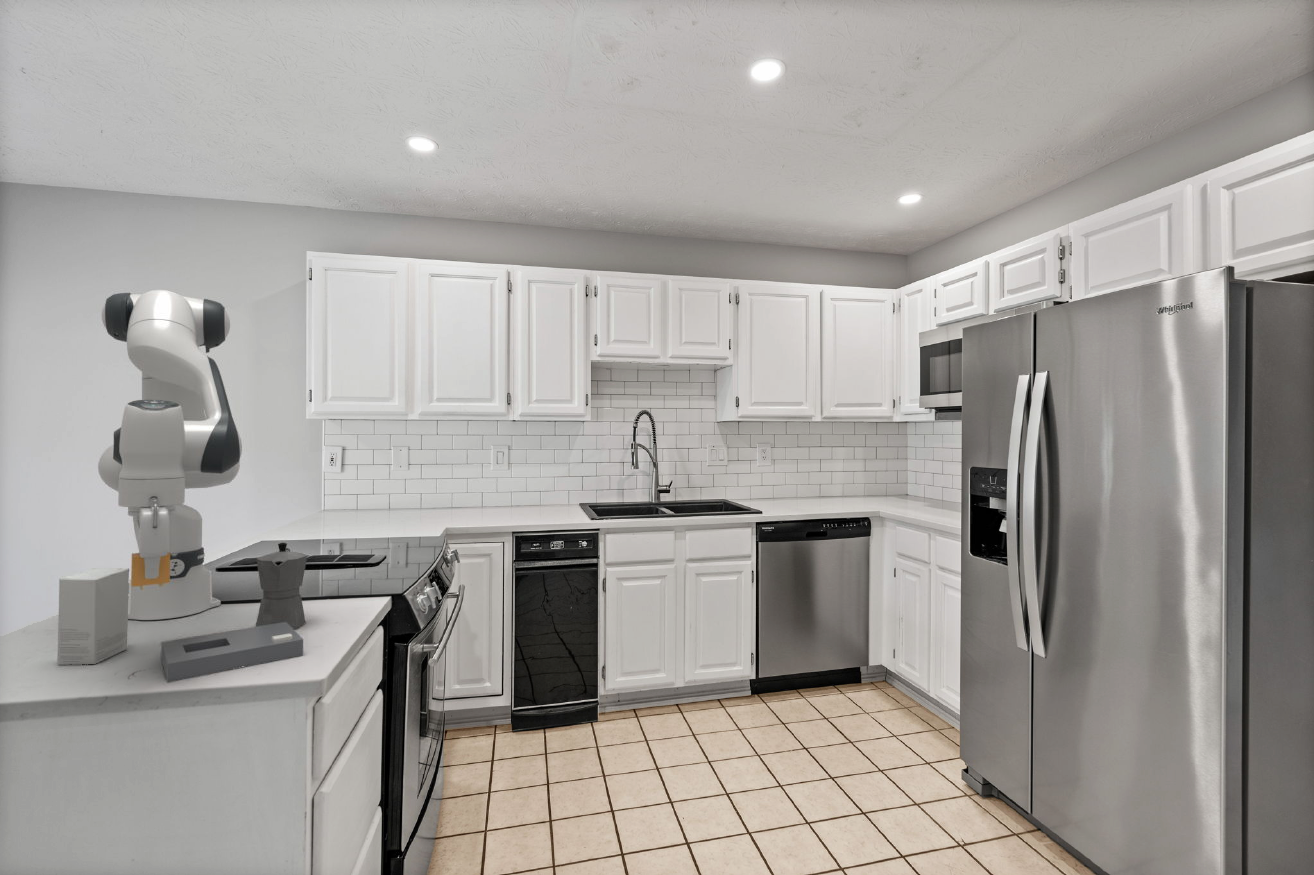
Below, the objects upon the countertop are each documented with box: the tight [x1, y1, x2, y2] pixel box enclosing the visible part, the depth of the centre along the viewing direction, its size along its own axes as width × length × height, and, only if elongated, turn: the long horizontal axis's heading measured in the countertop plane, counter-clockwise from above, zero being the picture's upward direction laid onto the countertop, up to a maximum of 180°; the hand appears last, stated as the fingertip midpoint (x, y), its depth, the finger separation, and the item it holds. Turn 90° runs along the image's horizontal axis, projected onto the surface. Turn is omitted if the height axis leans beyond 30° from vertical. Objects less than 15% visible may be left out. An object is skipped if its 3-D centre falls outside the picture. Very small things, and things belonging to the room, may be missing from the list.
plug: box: [130, 551, 170, 590], centre depth 107 cm, size 4×5×6 cm
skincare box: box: [56, 567, 130, 666], centre depth 113 cm, size 8×7×16 cm
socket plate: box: [160, 622, 304, 683], centre depth 115 cm, size 14×20×4 cm
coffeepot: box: [255, 542, 308, 630], centre depth 134 cm, size 15×9×18 cm, turn 25°
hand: (150, 575), depth 107 cm, fingers closed on plug, 3 cm apart
